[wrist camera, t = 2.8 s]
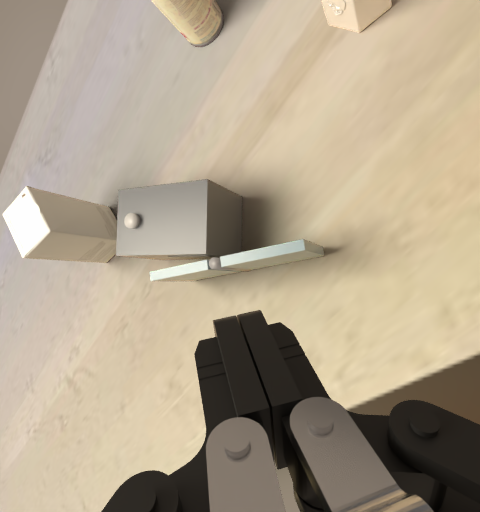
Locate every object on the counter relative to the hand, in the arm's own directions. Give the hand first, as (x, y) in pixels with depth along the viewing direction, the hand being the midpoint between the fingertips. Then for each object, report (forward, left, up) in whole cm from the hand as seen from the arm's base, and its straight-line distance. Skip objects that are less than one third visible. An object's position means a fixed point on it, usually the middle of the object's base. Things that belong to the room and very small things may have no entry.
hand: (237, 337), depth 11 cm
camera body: (+24, +11, -37) cm, 45 cm away
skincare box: (+36, +23, -37) cm, 57 cm away
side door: (+14, +9, -37) cm, 40 cm away
